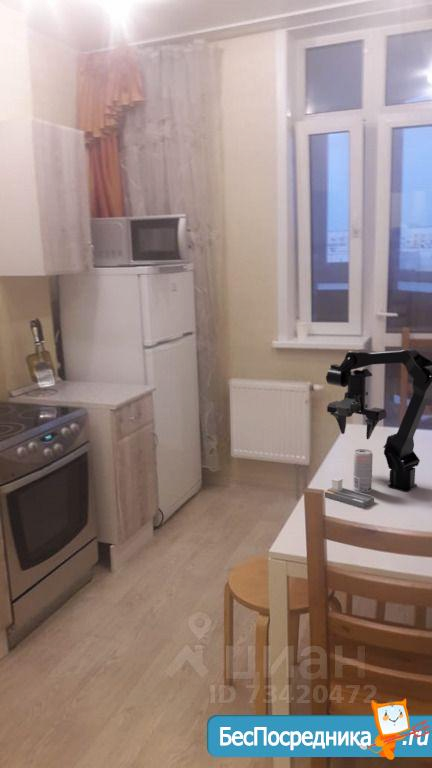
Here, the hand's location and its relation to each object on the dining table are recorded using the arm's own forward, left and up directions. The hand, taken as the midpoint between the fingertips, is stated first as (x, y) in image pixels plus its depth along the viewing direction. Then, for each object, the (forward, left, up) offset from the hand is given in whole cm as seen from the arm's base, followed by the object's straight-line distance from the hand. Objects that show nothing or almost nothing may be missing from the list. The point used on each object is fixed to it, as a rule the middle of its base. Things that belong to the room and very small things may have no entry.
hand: (355, 436), depth 197 cm
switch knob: (-7, +21, -10) cm, 24 cm away
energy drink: (-10, +12, -12) cm, 20 cm away
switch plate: (-11, +21, -12) cm, 27 cm away
